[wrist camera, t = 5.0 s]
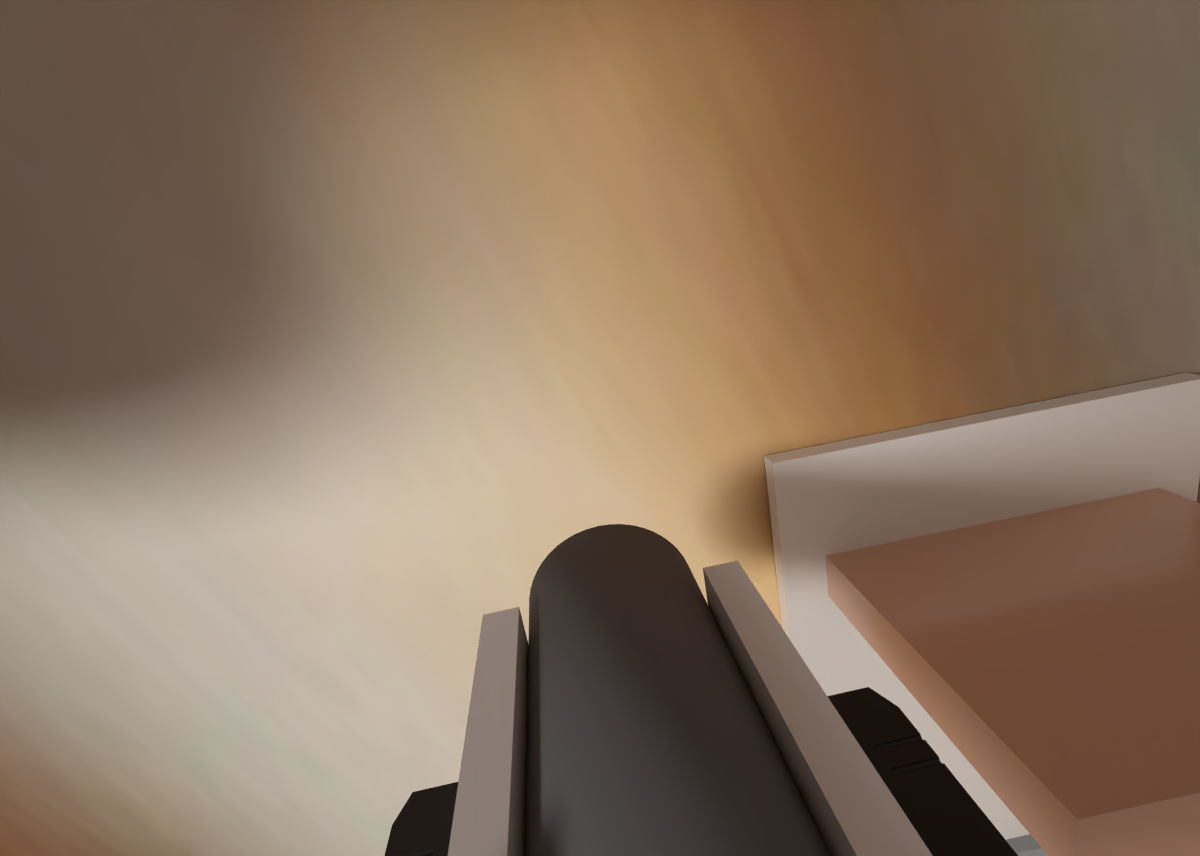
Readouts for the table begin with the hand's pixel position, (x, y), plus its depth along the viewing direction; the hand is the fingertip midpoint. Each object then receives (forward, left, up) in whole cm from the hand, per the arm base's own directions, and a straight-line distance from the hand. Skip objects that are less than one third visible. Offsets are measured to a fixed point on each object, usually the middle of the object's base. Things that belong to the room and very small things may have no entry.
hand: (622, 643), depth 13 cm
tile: (+13, -4, -7) cm, 15 cm away
